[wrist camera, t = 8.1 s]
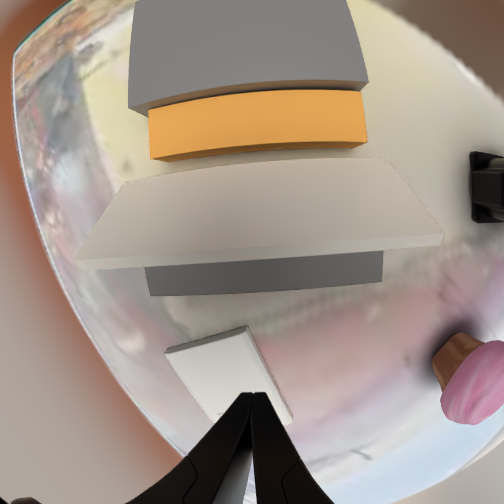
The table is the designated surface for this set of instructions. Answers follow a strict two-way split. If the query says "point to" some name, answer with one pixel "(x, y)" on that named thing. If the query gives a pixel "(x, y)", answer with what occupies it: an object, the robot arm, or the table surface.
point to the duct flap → (259, 214)
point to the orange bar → (257, 123)
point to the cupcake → (470, 378)
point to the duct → (245, 81)
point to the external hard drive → (225, 372)
